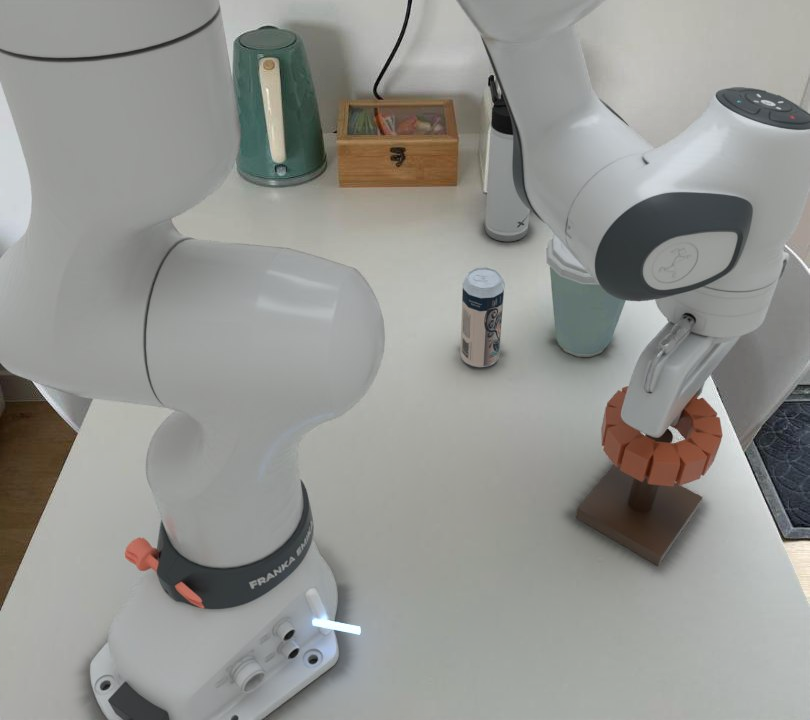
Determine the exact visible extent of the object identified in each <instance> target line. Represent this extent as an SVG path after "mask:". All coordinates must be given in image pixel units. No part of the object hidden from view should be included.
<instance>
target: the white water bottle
mask: <svg viewBox="0 0 810 720" xmlns="http://www.w3.org/2000/svg"><path fill="white" fill-rule="evenodd" d="M492 106H493V107H492V108H491V120H490V121H491V122H490V129H489V131H490V132H489V148H488V149H489V150H488V169H487V187H486V205H485V206H486V207H485V222H484V223H485V224H484V231H485V233H486V234H487V236H488V237H490V238H492V239H493V240H496V241H498V242H499V241H500V242H509V243H510V242H516V241H519V240H521V239H523V238H524V237H526V236H527V234H528V231H529V222H530V213H531V210H530V209H529V208H527V207H526V206H525V205H524V203H523V202H522V201H521V199H520V198H519V196H518V194H517V192H516V189H515V186H514V181H513V172H512V160H513V128H512V122H511V118H510V114H509V111H508V108H507V106H506V103H505V100H504V98H503V97H501V98H499V99H497V100H495V102H494V104H493V105H492Z"/></svg>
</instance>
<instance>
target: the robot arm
mask: <svg viewBox="0 0 810 720" xmlns="http://www.w3.org/2000/svg"><path fill="white" fill-rule="evenodd" d="M455 1H456V2H457V4H458V5H459V6H460V9H461V10H462V11H463V13H464V15H466V17H467V19H468V20H469V21H470V22H471V24H472V25H473V27H474V28H475V30H476V32H478V33H479V36H480V38H481V41H482V44H483V46H484V50H485V52H486V55H487V57H488V61H489V62H490V65H491V69H492V71H493V74H494V76H495V79H496V82H497V84H498V87H499V90H500V92H501V95H502V98H504V100H505V103H506V106H507V108H508V111H509V114H510V118H511V122H512V128H513V160H512V172H513V181H514V186H515V189H516V192H517V194H518V196H519V198H520V199H521V201H522V202H523V203H524V205H525V206H526V207H527V208H529V209H530V212H532V213H533V215H535V216H536V218H538V219H539V220H540V221H541V222H543V224H544V225H546V226H547V227H548V228H549V230H550V231H551V232H552V233H553V235H554V234H555V235H556V236H557V238H558V239H559V240H560V241H561V242H562V243H563V245H564V246H565V247H566V248H567V249H568V250H569V252H570V253H571V254H572V255H573V256H574V257H575V258H576V259H577V260H578V261H579V263H580V264H581V265H582V266H583V267H584V268H585V270H586V271H587V272H588V273H589V274H590V275H591V276H592V277H593V279H594V280H595V281H596V282H597V283H598V284H599V285H600V286H601V287H602V288H603V289H604V290H605V291H606V292H607V293H609V294H610V295H612V296H614V297H616V298H618V299H622V300H626V301H627V302H648V301H655V304H656V306H657V309H658V310H659V312H660V313H661V314H662V316H664V317H665V318H666V320H667V323H665V325H664V326H663V327H662V328H661V330H659V332H658V333H657V334H656V335H655V336H654V337H652V339H651V340H650V342H649V343H647V345H646V346H645V347H644V349H643V350H642V352H641V353H640V355H639V357H638V359H637V361H636V363H635V366H634V368H633V370H632V373H631V376H630V378H629V379H630V380H629V383H628V385H627V386H628V389H627V392H626V396H625V399H624V403H623V406H622V410H621V418H622V420H623V421H624V422H625V423H626V424H628V425H629V426H631V427H633V428H634V429H636V430H638V431H640V432H641V434H644V435H645V434H647V435H649V436H652V437H655V438H658V437H660V436H662V435H663V434H664V432H665V431H666V430H667V428H668V429H669V427H671V426H672V427H671V428H673V426H675V425H676V424H677V423H678V422H679V421H680V419H681V418H682V416H683V413H684V410H685V407H686V405H687V403H688V402H689V401H690V400H691V398H692V397H693V396H694V395H695V393H696V394H698V398H699V397H700V396H701V395H702V392H703V389H704V386H705V383H706V381H707V380H708V378H709V377H710V376H711V375H712V374H713V372H714V371H715V370H716V369H717V368H718V366H719V365H720V364H721V363H722V361H723V359H725V357H726V356H727V355H728V354H729V352H730V351H731V350H732V349H733V347H734V346H735V345H736V344H737V342H738V341H739V340H740V339H741V337H742V336H744V335H745V336H746V335H748V334H750V333H752V332H754V331H755V330H757V329H758V328H759V327H760V326H761V325H762V324H763V323H764V322H765V319H766V317H767V314H768V311H769V308H770V305H771V303H772V299H773V296H774V294H775V291H776V288H777V285H778V282H779V281H780V279H781V278H782V276H783V275H784V272H785V270H786V269H787V266H788V263H789V260H790V253H789V252H787V251H784V249H785V246H786V243H787V242H788V240H789V239H790V238H791V236H792V235H793V234H794V233H795V231H796V229H797V228H798V225H799V223H800V221H801V217H802V215H803V212H804V209H805V206H806V203H807V201H808V197H809V194H810V113H809V112H808V111H807V110H805V109H804V108H802V107H801V106H800V105H798V104H797V103H794V102H793V101H792V100H790V99H787V98H786V97H784V96H782V95H780V94H776V93H773V92H769V91H767V90H765V89H759V88H753V87H746V86H745V87H744V86H743V87H742V86H734V87H728V88H722V89H720V90H717V91H716V92H715V93H714V94H713V95H712V96H711V97H710V99H709V101H708V102H707V105H706V106H705V109H704V110H703V112H702V113H701V114H700V115H699V117H698V118H697V119H696V120H695V121H694V122H692V123H691V124H690V125H689V126H688V127H687V128H686V129H684V130H683V131H682V132H681V133H679V134H678V135H677V136H674V138H672V139H670V140H669V141H667V142H665V143H664V144H662V145H660V146H658V147H655V146H653V145H652V144H651V143H649V142H648V141H647V140H646V139H645V138H643V137H642V136H641V135H640V134H639V133H637V132H636V131H635V130H634V129H633V128H632V127H631V126H630V125H629V124H628V123H627V121H625V120H624V119H623V118H622V116H620V115H619V113H617V112H616V111H615V110H614V109H613V108H612V107H611V106H610V105H608V103H606V102H605V101H604V100H602V99H601V98H600V97H598V95H597V93H596V92H595V90H594V88H593V85H592V81H591V77H590V74H589V70H588V66H587V62H586V58H585V54H584V51H583V46H582V41H581V37H580V33H579V29H578V26H577V23H578V22H580V21H581V20H582V19H584V18H586V17H587V16H589V15H590V14H591V13H593V12H594V11H595V10H597V9H598V8H599V7H600V6H601V5H602V4H603V3H604V2H605V1H606V0H455ZM225 32H226V31H225V28H224V21H223V14H222V8H221V5H220V0H0V85H1V88H2V91H3V95H4V97H5V100H6V103H7V106H8V109H9V112H10V115H11V118H12V121H13V125H14V128H15V131H16V134H17V137H18V140H19V143H20V147H21V150H22V153H23V157H24V160H25V164H26V167H27V173H28V176H29V177H28V178H29V181H30V192H31V207H30V208H31V209H30V215H29V222H28V225H27V228H26V230H25V232H24V234H23V235H22V236H21V237H20V238H19V240H17V241H15V242H14V243H13V244H12V245H11V246H10V247H9V248H8V249H6V251H5V252H4V253H3V255H2V256H1V257H0V364H1V366H2V367H4V369H6V371H8V372H10V373H11V374H13V375H14V376H17V377H20V378H23V379H25V380H28V381H31V382H33V383H36V384H39V385H41V386H44V387H48V388H49V389H53V390H57V391H59V392H62V393H66V394H69V395H71V396H74V397H77V398H82V399H91V400H100V401H108V402H114V403H115V402H116V403H124V404H130V405H131V404H132V405H139V406H148V407H156V408H163V409H168V410H171V411H172V412H171V413H170V414H169V415H168V416H167V417H166V418H165V419H164V420H162V422H161V423H160V424H159V426H158V427H157V429H156V430H155V432H154V433H153V435H152V436H151V440H150V441H149V444H148V448H147V452H146V457H145V468H144V470H145V477H146V481H147V485H148V486H149V489H150V491H151V494H152V496H153V497H152V498H153V500H154V503H155V505H156V509H157V511H158V514H159V516H160V523H159V524H160V525H159V532H158V536H157V543H156V544H157V545H156V547H153V546H152V545H151V544H150V542H149V541H148V540H147V539H146V538H145V537H137V538H135V539H133V540H132V541H130V543H129V544H128V545H127V546H126V547H125V551H124V558H125V559H126V560H127V561H128V562H130V563H131V564H133V565H135V566H136V569H137V570H139V571H141V572H143V574H142V575H141V577H140V578H139V579H138V581H137V583H136V584H135V586H134V587H133V589H132V590H131V592H130V593H129V595H128V597H127V598H126V600H125V601H124V603H123V604H122V606H121V607H120V608H119V610H118V611H117V613H116V614H115V616H114V618H113V619H112V621H111V623H110V625H109V628H108V629H109V630H108V638H107V642H106V643H105V644H104V645H103V646H102V647H101V649H100V650H98V652H97V653H96V655H95V656H94V657H93V658H92V660H91V662H90V665H89V677H90V685H91V688H92V691H93V695H94V696H95V701H96V702H97V704H98V706H99V708H100V710H101V712H102V714H103V715H104V716H105V718H106V720H263V719H265V718H266V717H267V716H268V715H271V713H273V712H274V711H276V710H277V709H278V708H279V707H281V706H282V705H283V704H285V703H286V702H287V701H289V700H290V699H292V698H293V697H294V696H295V695H297V694H298V693H299V692H300V691H302V690H303V689H305V688H306V687H307V686H308V685H310V684H311V683H313V682H314V681H315V680H317V679H318V678H319V677H321V676H322V675H323V674H325V673H326V672H327V671H328V670H330V669H331V668H333V667H334V666H335V665H336V664H337V662H338V660H339V657H340V648H339V643H338V639H337V635H336V631H340V632H345V633H350V634H355V635H361V626H358V625H353V624H348V623H342V622H339V621H336V615H337V610H338V605H339V604H338V603H339V591H338V585H337V582H336V578H335V575H334V573H333V571H332V569H331V567H330V565H329V564H328V563H327V561H326V560H325V559H324V558H323V555H321V553H320V551H319V549H318V547H317V545H316V542H315V540H314V527H315V526H314V519H313V518H314V517H313V512H312V508H311V507H312V506H311V503H310V500H309V494H308V490H307V488H306V486H305V483H304V482H303V480H302V479H301V473H300V464H299V445H300V442H301V441H302V439H303V438H304V437H306V435H307V434H308V433H309V432H311V431H312V430H314V429H315V428H317V427H319V426H320V425H323V424H324V423H327V422H330V421H333V420H336V419H339V418H341V417H343V416H345V415H346V414H347V413H348V412H349V411H351V410H352V409H353V408H354V407H355V406H356V405H357V404H359V403H360V401H361V400H362V399H363V398H364V397H365V395H366V394H367V393H368V391H369V390H370V388H371V387H372V386H373V384H374V381H375V380H376V378H377V375H378V374H379V372H380V371H379V370H380V369H381V365H382V362H383V358H384V352H385V345H386V344H385V343H386V329H385V320H384V317H383V316H384V315H383V312H382V309H381V305H380V302H379V300H378V298H377V295H376V293H375V292H374V290H373V288H372V286H371V285H370V283H369V282H368V280H367V279H366V278H365V277H364V275H363V274H362V273H361V271H359V270H358V269H357V268H355V267H352V266H349V265H346V264H343V263H340V262H337V261H334V260H331V259H329V258H325V257H322V256H319V255H315V254H311V253H307V252H304V251H301V250H297V249H293V248H289V247H283V246H282V247H280V246H271V245H270V246H269V245H261V244H260V245H259V244H249V243H241V242H240V243H238V242H229V241H219V240H218V241H217V240H209V239H208V240H207V239H206V240H205V239H198V238H197V239H196V238H193V237H189V236H185V235H183V234H182V233H180V232H179V230H178V229H177V227H176V226H175V225H174V223H173V220H172V219H174V218H176V217H179V216H181V215H182V214H184V213H187V212H188V211H190V210H192V209H193V208H195V207H196V206H198V205H200V204H201V203H202V202H204V201H205V200H206V199H208V198H209V197H210V196H211V195H213V194H214V193H215V192H216V191H217V190H218V189H219V188H220V187H221V186H222V185H223V184H224V183H225V181H226V180H227V178H228V177H229V176H230V174H231V172H232V170H233V168H234V167H235V164H236V161H237V159H238V155H239V151H240V146H241V140H242V130H241V123H240V117H239V116H240V115H239V111H238V105H237V99H236V92H235V86H234V81H233V74H232V68H231V63H230V57H229V56H230V55H229V51H228V50H229V49H228V44H227V39H226V33H225ZM311 660H317V661H316V662H315V663H310V661H311ZM108 685H109V687H108V688H107V689H104V688H105V687H106V686H108Z"/></svg>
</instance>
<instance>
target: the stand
mask: <svg viewBox="0 0 810 720" xmlns="http://www.w3.org/2000/svg"><path fill="white" fill-rule="evenodd" d="M644 436H646V437H648V438H650V439H652V440H654V441H656V442H666V443H673V439H674V434H673V433H672V431H671V430H670V429H669V427H668V428H667V430H666V431H665V432H664V434H663V435H662V436H660V437H658V438H655V437H652V436H649V435H647V434H645V433H644ZM620 468H621V465H620V466H617V467H616V466H615V465H614V464H612V466H610V468H609V469H608V470H607V472H606V473H605V474H604V476H603V477H602V478H601V479H600V480H599V482H598V483H597V484H596V485H595V487H594V488H593V489H592V490H591V491H590V492H589V494H588V495H587V496H586V497H585V498H584V500H583V501H582V502H581V504H579V506H578V507H577V509H576V513H575V514H576V515H575V519H578V520H579V521H581V522H583V523H584V524H586V525H588V526H590V528H592V529H594V530H595V531H598V532H600V533H601V534H603V535H605V536H607V537H608V538H610V539H611V540H613V541H614V542H617V543H618V544H620V545H621V546H623V547H625V548H627V549H628V550H630V551H632V552H634V553H635V554H637V555H639V556H640V557H642V558H644V559H645V560H647V561H648V562H650V563H652V564H654V565H655V566H657V567H659V566H660V564H661V563H662V562H663V560H664V559H665V557H666V556H667V554H668V553H669V551H671V549H672V547H673V545H674V544H675V543H676V542H677V540H678V539H679V537H680V535H681V534H682V533H683V531H684V529H686V527H687V525H688V524H689V522H690V521H691V519H692V518H693V516H694V515H695V514H696V512H697V510H698V509H699V508H700V506H701V504H702V500H703V496H701V495H700V494H697V493H696V492H694V491H691V490H690V489H688V488H686V487H684V486H683V485H680V486H678V484H677V483H676V482H675V483H674V486H673V487H672V486H663V485H654V484H648V480H647V477H646V478H645V479H644V481H643V482H641V481H639V480H637V479H635V478H634V477H632V476H630V475H628V474H626V473H624V472H622V471H620Z"/></svg>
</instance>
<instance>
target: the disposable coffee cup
mask: <svg viewBox="0 0 810 720" xmlns="http://www.w3.org/2000/svg"><path fill="white" fill-rule="evenodd" d="M545 255H546V256H545V257H546V264H547V265H548V266H549V275H550V285H551V298H552V310H553V311H552V312H553V321H554V332H555V333H554V334H555V335H554V336H555V340H556V342H557V345H558V346H559V347H560V348H561V349H562V350H563V351H564V352H565V353H567V354H570V355H572V356H575V357H580V358H581V357H582V358H583V357H584V358H591V357H594V356H598V355H600V354H602V353H603V352H604V350H606V348H607V347H608V346H609V344H610V343H611V341H612V339H613V336H614V333H615V331H616V328H617V326H618V322H619V320H620V318H621V314H622V311H623V309H624V307H625V304H626V301H627V300H622V299H618V298H616V297H614V296H612V295H610V294H609V293H607V292H606V291H605V290H604V289H603V288H602V287H601V286H600V285H599V284H598V283H597V282H596V281H595V280H594V279H593V277H592V276H591V275H590V274H589V273H588V272H587V271H586V270H585V268H584V267H583V266H582V265H581V264H580V263H579V261H578V260H577V259H576V258H575V257H574V256H573V255H572V254H571V253H570V252H569V250H568V249H567V248H566V247H565V246H564V245H563V243H562V242H561V241H560V240H559V239H558V238H557V236H556V235H555V234H554V233H553V234H552V238H551V239H550V240H549V241H548V242H547V246H546V249H545Z"/></svg>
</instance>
